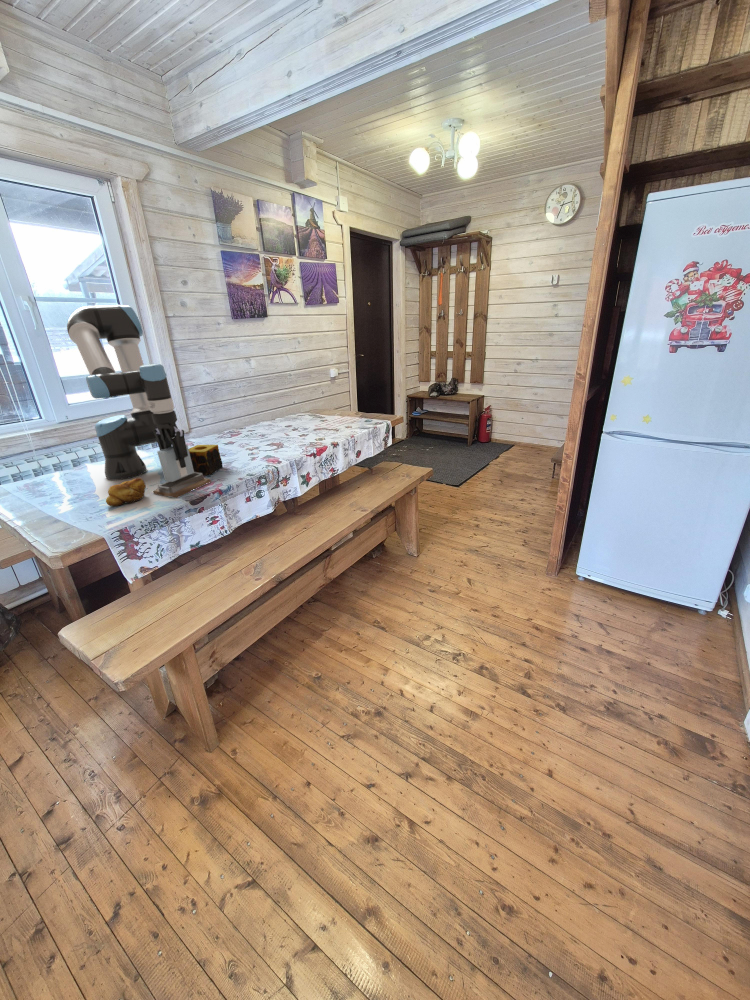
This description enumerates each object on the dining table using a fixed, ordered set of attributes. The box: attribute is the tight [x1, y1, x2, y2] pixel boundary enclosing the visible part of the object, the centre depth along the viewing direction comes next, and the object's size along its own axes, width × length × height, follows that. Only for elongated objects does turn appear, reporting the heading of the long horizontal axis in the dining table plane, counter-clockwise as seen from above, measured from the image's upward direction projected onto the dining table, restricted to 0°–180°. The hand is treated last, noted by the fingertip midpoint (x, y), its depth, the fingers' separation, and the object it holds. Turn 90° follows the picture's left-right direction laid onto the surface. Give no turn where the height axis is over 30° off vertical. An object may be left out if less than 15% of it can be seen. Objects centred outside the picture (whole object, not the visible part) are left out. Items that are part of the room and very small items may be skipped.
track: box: [152, 472, 212, 499], centre depth 155 cm, size 12×16×3 cm
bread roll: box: [105, 477, 146, 507], centre depth 145 cm, size 13×10×8 cm
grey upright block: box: [157, 443, 194, 482], centre depth 151 cm, size 4×10×11 cm, turn 154°
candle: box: [188, 444, 224, 476], centre depth 170 cm, size 10×10×10 cm
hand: (179, 475), depth 153 cm, fingers closed on grey upright block, 3 cm apart
